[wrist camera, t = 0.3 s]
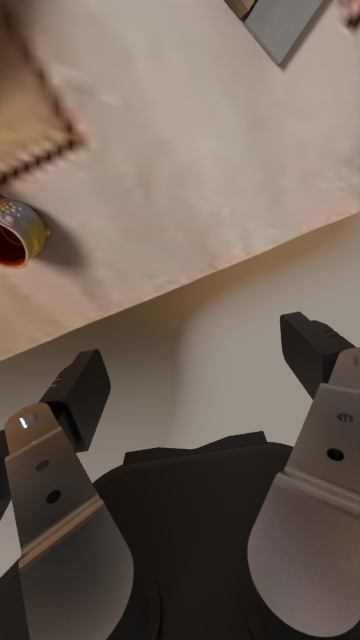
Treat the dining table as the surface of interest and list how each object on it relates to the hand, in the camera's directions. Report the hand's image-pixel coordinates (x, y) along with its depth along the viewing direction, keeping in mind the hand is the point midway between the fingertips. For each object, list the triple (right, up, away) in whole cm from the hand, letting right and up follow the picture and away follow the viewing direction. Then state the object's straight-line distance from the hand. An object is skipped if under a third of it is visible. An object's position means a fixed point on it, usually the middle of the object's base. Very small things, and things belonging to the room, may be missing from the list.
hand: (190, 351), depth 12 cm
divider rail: (+16, +42, +8) cm, 46 cm away
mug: (-22, +16, +23) cm, 35 cm away
